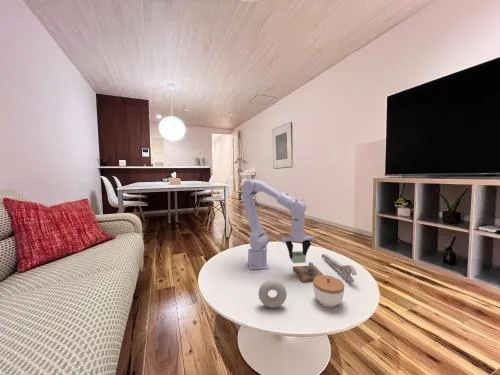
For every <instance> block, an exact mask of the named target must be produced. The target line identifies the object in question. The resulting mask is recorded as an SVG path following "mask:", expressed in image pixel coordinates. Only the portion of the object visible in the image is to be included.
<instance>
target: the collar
mask: <svg viewBox="0 0 500 375" xmlns="http://www.w3.org/2000/svg"><path fill="white" fill-rule="evenodd" d="M306 257H307V255H306V256H305V255H304V254H303V253H302V250H300V251H297V250H296V251H292V258H290V257H289V259H290V261H291V262H292V263H293V264H302V263H303V264H304V263H307V262H306V259H307V258H306Z"/></svg>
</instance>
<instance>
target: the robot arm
mask: <svg viewBox="0 0 500 375" xmlns="http://www.w3.org/2000/svg"><path fill="white" fill-rule="evenodd" d="M241 190H242V193H241V200H242V204H243V207H244V209H245V210H244V211H245V213H246V214H245V215H246V218H247V222H248V225H249V228H250V234H249V240H250V241H249V245H250V246H249V247H250V248H248V251H247V265H248V268H249V270H252V271H253V270H265V269H267V270H268V269H270V267H269V265H268V263H267V261H268V260H267V258H268V257H267V255H268V254H267V253H268V248H267V246H268V244H269V242H270V238H269V236H268V235H267V232H266V230H264V228H262V225H261V222H260V218H259V214H258V212H257V211H258V210H257V208H256V204H255V200H254V198H255V196H256V195H257V193H260V192H263V193H264V194H267V195H268V196H270V197H272V198H274V199H276V202H277V204H279V205H280V206H282V207H284V208H286V209H287V210H289V212H290V214H291V235H289V236H281V242H282V243H283V244H285V245H286V248H287V250H288V256H289V259H290V258H292V252H294V251H293V249H294V244H293V243H298V242H300V243H301V245H302V249H301V252H302V253H303V254H304V255H305V256H306V257H307V253H308V251H309V248H310V247H311V246H312V243H311V242H315V237H314V236H313V235H305V225H306V224H305V220H306V218H305V217H306V216H305V214H306V213H305V212H306V210H307V204H306V203H305V202H304V201H303V200H301V199H299V200H298V198H294V197H293V196H291V195H290V193H289V192H283V191H282V192H279V191H278V190H276V189H275V188H273V187H272V186H270V185H269V184H267V183H266V182H265V181H263V180H261V179H258V178H255V179H246V180H245V181H243V183H242V185H241Z"/></svg>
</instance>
